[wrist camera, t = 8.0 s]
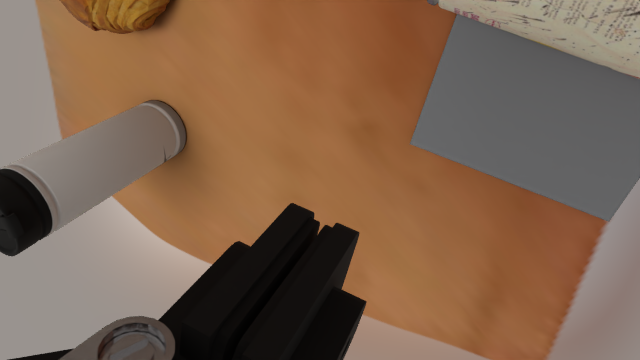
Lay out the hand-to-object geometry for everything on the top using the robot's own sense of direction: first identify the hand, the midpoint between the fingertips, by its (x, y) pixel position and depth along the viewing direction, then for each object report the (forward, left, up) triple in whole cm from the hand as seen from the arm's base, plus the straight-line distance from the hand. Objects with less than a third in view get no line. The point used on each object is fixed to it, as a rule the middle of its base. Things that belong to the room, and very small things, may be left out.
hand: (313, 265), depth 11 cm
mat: (0, +6, -29) cm, 30 cm away
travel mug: (+19, -27, -29) cm, 44 cm away
